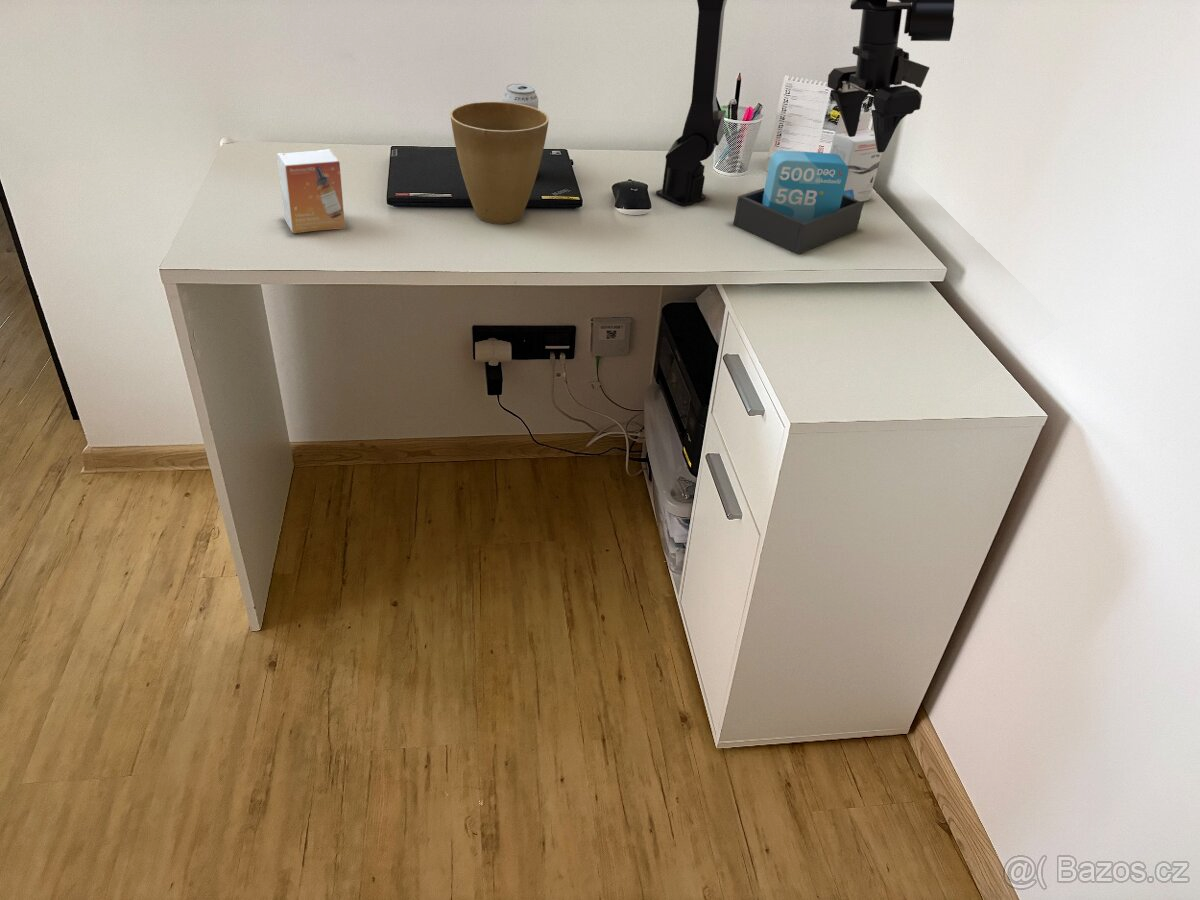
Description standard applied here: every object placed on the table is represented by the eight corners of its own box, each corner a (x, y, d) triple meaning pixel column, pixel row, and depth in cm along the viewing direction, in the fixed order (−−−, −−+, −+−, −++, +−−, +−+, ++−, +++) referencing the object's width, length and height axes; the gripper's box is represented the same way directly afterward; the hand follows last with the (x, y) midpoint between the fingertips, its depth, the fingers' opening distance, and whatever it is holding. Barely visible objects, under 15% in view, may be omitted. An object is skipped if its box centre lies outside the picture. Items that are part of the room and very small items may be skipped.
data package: (763, 230, 152) (777, 159, 145) (758, 219, 155) (771, 149, 148) (833, 234, 153) (851, 163, 146) (826, 223, 157) (843, 153, 149)
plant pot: (560, 212, 151) (566, 114, 142) (512, 242, 141) (515, 138, 131) (485, 189, 156) (486, 93, 147) (433, 217, 146) (430, 115, 136)
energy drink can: (494, 174, 162) (495, 87, 153) (514, 166, 166) (516, 80, 157) (522, 183, 160) (525, 95, 151) (541, 174, 164) (545, 88, 155)
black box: (732, 224, 153) (738, 196, 150) (792, 204, 163) (798, 176, 160) (798, 254, 146) (804, 224, 143) (856, 230, 155) (864, 202, 152)
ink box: (837, 207, 163) (858, 124, 154) (818, 197, 167) (837, 115, 158) (870, 200, 167) (892, 118, 159) (851, 190, 171) (871, 110, 162)
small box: (292, 235, 136) (283, 165, 130) (284, 220, 140) (275, 152, 134) (346, 228, 140) (340, 160, 133) (336, 214, 143) (330, 147, 137)
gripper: (961, 46, 133) (943, 154, 142) (892, 24, 148) (880, 123, 157) (893, 55, 131) (879, 163, 140) (830, 31, 146) (821, 131, 155)
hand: (866, 144), depth 148 cm, fingers open, 9 cm apart
